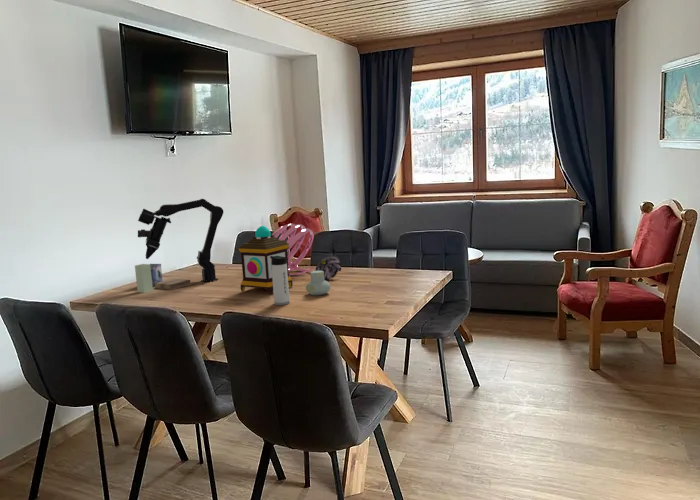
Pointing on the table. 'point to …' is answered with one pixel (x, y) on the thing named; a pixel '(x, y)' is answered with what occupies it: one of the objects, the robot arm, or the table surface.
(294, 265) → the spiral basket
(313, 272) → the air freshener
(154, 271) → the small box
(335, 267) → the decorative flower
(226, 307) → the table surface
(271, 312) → the table surface
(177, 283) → the block
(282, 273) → the travel mug
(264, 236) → the decorative lantern
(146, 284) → the sage block
